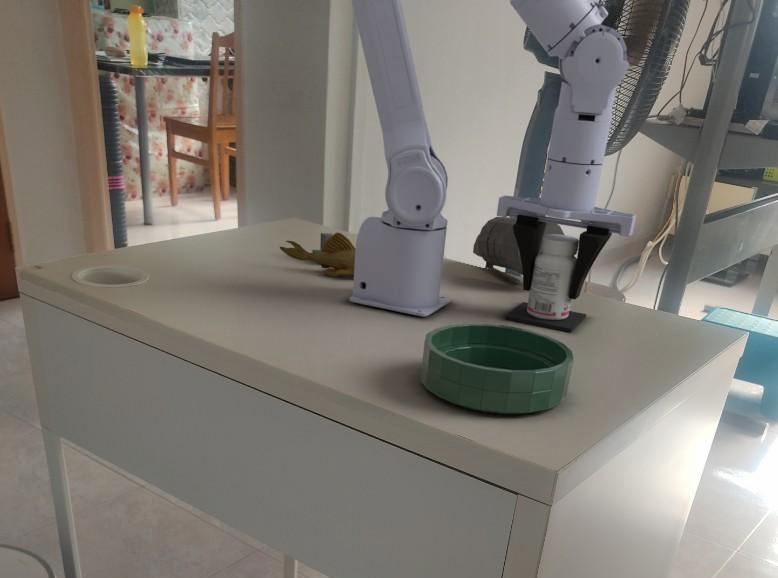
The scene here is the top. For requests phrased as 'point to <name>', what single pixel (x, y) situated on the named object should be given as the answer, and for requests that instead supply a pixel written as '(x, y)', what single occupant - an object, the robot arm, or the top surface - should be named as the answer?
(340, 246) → the fish
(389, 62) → the robot arm
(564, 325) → the mat
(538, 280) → the pill bottle
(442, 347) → the bowl
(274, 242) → the top surface
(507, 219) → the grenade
